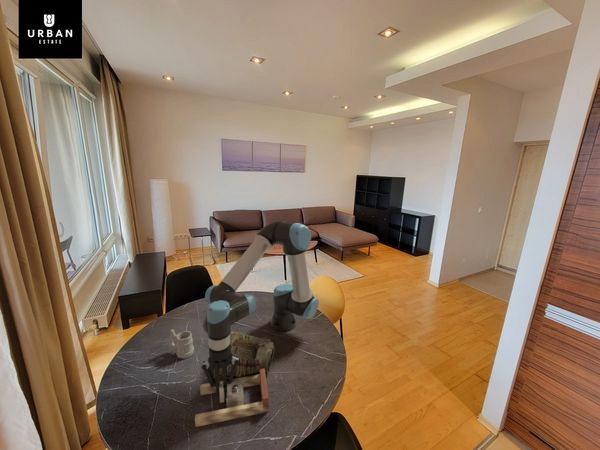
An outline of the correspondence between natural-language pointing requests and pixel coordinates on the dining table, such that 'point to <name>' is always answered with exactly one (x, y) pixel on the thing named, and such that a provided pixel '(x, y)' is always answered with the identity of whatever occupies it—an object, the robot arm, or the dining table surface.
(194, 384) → the dining table surface
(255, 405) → the channel
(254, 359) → the sculptural head
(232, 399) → the block
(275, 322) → the robot arm
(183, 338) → the mug
